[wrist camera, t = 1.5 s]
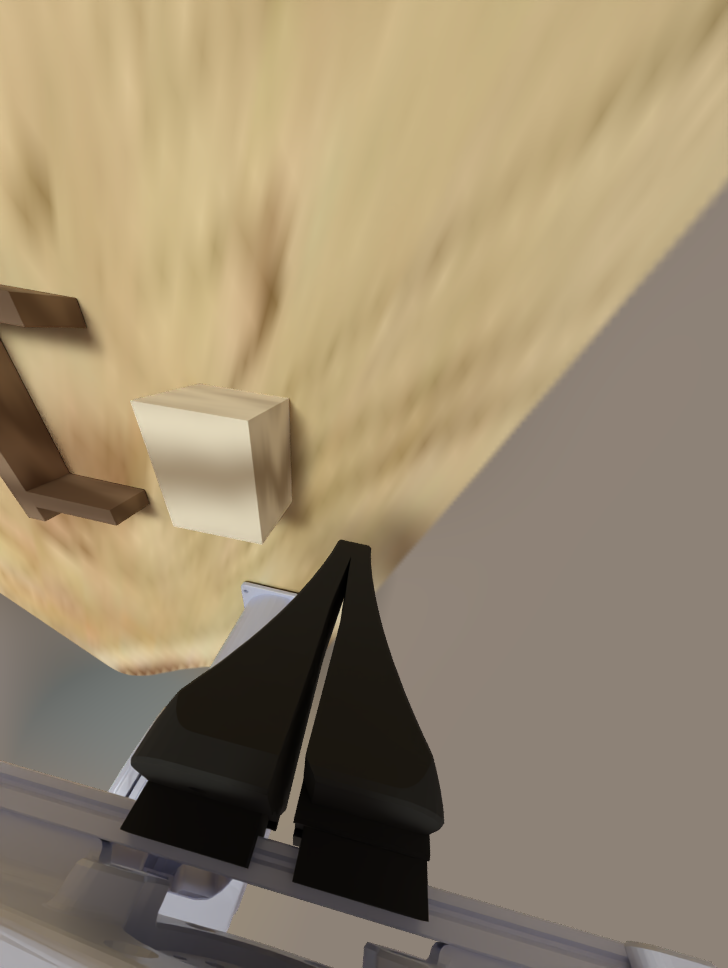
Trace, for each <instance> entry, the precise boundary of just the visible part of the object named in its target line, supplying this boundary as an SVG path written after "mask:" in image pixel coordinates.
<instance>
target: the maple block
mask: <svg viewBox="0 0 728 968" xmlns="http://www.w3.org/2000/svg"><path fill="white" fill-rule="evenodd" d="M130 402H131V405H132V408H133V410H134V413H135V416H136V419H137V422H138V425H139V428H140V431H141V434H142V436H143V439H144V442H145V445H146V448H147V451H148V454H149V457H150V460H151V463H152V465H153V468H154V471H155V474H156V477H157V480H158V483H159V486H160V489H161V491H162V494H163V497H164V500H165V503H166V506H167V509H168V512H169V515H170V518H171V520H172V523H173V526H175V527H179V528H184V529H189V530H194V531H199V532H204V533H209V534H213V535H218V536H223V537H228V538H233V539H238V540H242V541H247V542H252V543H257V544H263V543H264V541H265V540H266V539H267V537H268V536H269V534H270V533H271V531H272V530H273V529H274V527H275V526H276V524H277V523H278V521H279V520H280V518H281V517H282V516H283V514H284V513H285V511H286V510H287V508H288V507H289V505H290V504H291V503H292V479H291V446H290V413H289V398H285V397H279V396H273V395H267V394H261V393H255V392H249V391H243V390H237V389H230V388H224V387H218V386H212V385H206V384H200V383H199V384H195V385H191V386H187V387H183V388H179V389H175V390H171V391H167V392H163V393H159V394H154V395H150V396H146V397H142V398H138V399H134V400H130Z"/></svg>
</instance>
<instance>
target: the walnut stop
mask: <svg viewBox="0 0 728 968" xmlns="http://www.w3.org/2000/svg"><path fill="white" fill-rule="evenodd" d="M0 322H1V323H6V324H11V325H17V326H22V327H66V328H86V325H85V322H84V319H83V316H82V314H81V311H80V308H79V305H78V302H77V299H76V298H73V297H67V296H62V295H56V294H50V293H45V292H39V291H34V290H28V289H23V288H17V287H11V286H6V285H0ZM0 476H1V478H2V479H3V481H4V482H5V483H6V485H7V486H8V488H9V489H10V491H11V492H12V494H13V495H14V497H15V498H16V500H17V501H18V502H19V504H20V505H21V507H22V508H23V510H24V511H25V513H26V514H27V516H28V517H29V518H33V519H37V520H42V521H47V520H49V519H51V518H52V517H54V516H56V515H58V514H60V513H64V514H69V515H73V516H77V517H82V518H86V519H91V520H95V521H99V522H104V523H108V524H112V525H118V524H120V523H121V522H123V521H124V520H126V519H127V518H129V517H130V516H132V515H133V514H135V513H136V512H138V511H139V510H141V509H142V508H144V507H145V506H147V505H148V504H149V501H148V499H147V496H146V493H145V490H143V489H138V488H134V487H129V486H125V485H120V484H116V483H111V482H106V481H102V480H97V479H93V478H88V477H84V476H79V475H75V474H70V473H69V472H68V470H67V468H66V466H65V464H64V462H63V460H62V458H61V456H60V454H59V452H58V450H57V448H56V446H55V445H54V443H53V441H52V439H51V437H50V435H49V433H48V431H47V429H46V427H45V425H44V423H43V421H42V419H41V418H40V416H39V414H38V412H37V410H36V408H35V406H34V404H33V402H32V400H31V398H30V396H29V394H28V392H27V390H26V389H25V387H24V385H23V383H22V381H21V379H20V377H19V375H18V373H17V371H16V369H15V367H14V365H13V363H12V361H11V360H10V358H9V356H8V354H7V352H6V350H5V348H4V346H3V344H2V342H1V340H0Z"/></svg>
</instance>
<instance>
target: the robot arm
mask: <svg viewBox="0 0 728 968" xmlns="http://www.w3.org/2000/svg"><path fill="white" fill-rule="evenodd" d="M241 589H242V595H243V602H244V608H245V609H244V611H243V612H242V614H241V616H240V617H239V619H238V621H237V622H236V624H235V626H234V627H233V629H232V631H231V632H230V634H229V636H228V637H227V639H226V641H225V642H224V644H223V646H222V647H221V649H220V651H219V652H218V654H217V656H216V658H215V659H214V661H213V663H212V664H211V666H210V668H209V670H208V671H206V672H205V673H203V674H202V675H201V676H199V677H198V678H196V679H195V680H193V681H192V682H191V683H189V684H188V685H186V686H185V687H184V688H182V689H181V690H180V691H179V692H178V693H177V694H176V695H175V697H174V698H173V699H172V700H171V701H170V702H169V704H168V705H167V706H166V707H164V709H163V710H162V711H161V712H160V713H159V715H158V716H157V717H156V719H155V720H154V722H153V723H152V724H151V726H150V727H149V729H148V730H147V732H146V733H145V735H144V736H143V738H142V739H141V741H140V742H139V744H138V745H137V747H136V748H135V749H134V751H133V753H132V754H131V756H130V757H129V759H128V760H127V762H126V763H125V765H124V767H123V768H122V770H121V771H120V773H119V775H118V776H117V778H116V779H115V781H114V783H113V784H112V786H111V788H110V789H109V791H108V792H107V791H103V790H100V789H96V788H93V787H89V786H86V785H83V784H79V783H75V782H72V781H69V780H65V779H62V778H59V777H55V776H52V775H48V774H44V773H42V772H38V771H35V770H31V769H28V768H24V767H20V766H17V765H14V764H11V763H7V762H3V761H0V968H332V967H329V966H327V965H324V964H321V963H318V962H316V961H312V960H310V959H307V958H304V957H301V956H298V955H296V954H293V953H290V952H287V951H284V950H281V949H278V948H275V947H272V946H269V945H266V944H262V943H259V942H256V941H253V940H250V939H246V938H243V937H239V936H236V935H233V934H229V933H226V932H227V930H228V929H229V926H230V923H231V920H232V918H233V915H234V914H235V913H236V912H237V910H238V908H239V905H240V903H241V900H242V897H243V894H244V892H245V889H246V886H247V884H251V885H254V886H258V887H261V888H264V889H267V890H271V891H274V892H277V893H281V894H284V895H287V896H291V897H294V898H297V899H300V900H304V901H307V902H310V903H314V904H317V905H320V906H323V907H327V908H330V909H333V910H337V911H340V912H343V913H346V914H350V915H353V916H356V917H360V918H363V919H366V920H370V921H373V922H376V923H379V924H383V925H386V926H390V927H393V928H396V929H399V930H403V931H406V932H409V933H412V934H416V935H419V936H422V937H425V938H429V939H432V940H435V941H439V942H436V943H435V944H434V945H433V946H432V949H431V952H430V955H429V958H428V959H427V960H424V959H422V958H419V957H417V956H414V955H411V954H408V953H405V952H401V951H398V950H395V949H391V948H388V947H384V946H380V945H377V944H373V943H369V942H367V943H366V945H365V946H364V956H363V968H717V967H716V966H715V965H714V964H713V963H712V962H710V961H706V960H703V959H700V958H697V957H693V956H690V955H686V954H683V953H679V952H676V951H673V950H669V949H666V948H662V947H658V946H654V945H650V944H646V943H639V942H633V941H626V943H623V942H620V941H616V940H613V939H609V938H606V937H603V936H599V935H596V934H592V933H589V932H586V931H582V930H578V929H575V928H572V927H568V926H565V925H562V924H558V923H555V922H551V921H548V920H544V919H541V918H537V917H534V916H531V915H527V914H524V913H521V912H517V911H514V910H510V909H507V908H503V907H500V906H496V905H493V904H490V903H486V902H483V901H479V900H476V899H473V898H469V897H466V896H462V895H459V894H456V893H452V892H449V891H445V890H442V889H438V888H435V887H432V886H428V881H427V880H428V879H427V861H429V860H430V838H429V834H431V833H434V832H436V831H438V830H439V829H440V828H441V827H442V826H443V824H444V811H443V804H442V797H441V790H440V785H439V780H438V775H437V771H436V767H435V763H434V759H433V755H432V753H431V751H430V748H429V746H428V744H427V742H426V740H425V738H424V736H423V733H422V731H421V729H420V727H419V724H418V722H417V720H416V718H415V715H414V713H413V711H412V708H411V706H410V703H409V701H408V699H407V696H406V694H405V691H404V689H403V686H402V683H401V681H400V678H399V676H398V673H397V670H396V667H395V665H394V662H393V659H392V656H391V653H390V650H389V647H388V644H387V640H386V637H385V634H384V630H383V627H382V623H381V619H380V615H379V611H378V606H377V602H376V597H375V591H374V585H373V579H372V570H371V548H370V546H367V545H363V544H358V543H354V542H349V541H345V540H339V541H338V543H337V544H336V546H335V548H334V549H333V551H332V553H331V554H330V555H329V557H328V558H327V560H326V561H325V562H324V564H323V565H322V566H321V568H320V569H319V570H318V571H317V573H316V574H315V575H314V576H313V578H312V579H311V580H310V581H309V582H308V583H307V584H306V585H305V587H304V588H303V589H302V590H301V591H300V592H299V593H298V594H296V593H292V592H287V591H283V590H279V589H275V588H270V587H266V586H262V585H257V584H253V583H249V582H244V583H243V584H242V585H241ZM343 599H344V601H343ZM342 602H343V607H342V614H341V621H340V625H339V629H338V633H337V637H336V641H335V645H334V649H333V653H332V657H331V660H330V664H329V668H328V672H327V676H326V680H325V684H324V688H323V691H322V695H321V699H320V703H319V707H318V710H317V714H316V718H315V722H314V725H313V729H312V733H311V737H310V740H309V744H308V748H307V752H306V757H305V768H304V779H303V784H302V788H301V792H300V796H299V800H298V804H297V809H296V813H295V817H294V823H295V830H294V834H293V845H295V846H299V848H298V847H295V846H291V845H288V844H284V843H281V842H277V841H274V840H271V839H268V837H269V834H270V832H271V830H273V831H276V829H277V825H278V821H279V818H280V815H281V814H282V813H283V812H284V811H285V810H286V808H287V803H288V799H289V795H290V791H291V787H292V783H293V779H294V774H295V771H296V766H297V762H298V758H299V754H300V750H301V746H302V742H303V738H304V734H305V730H306V726H307V722H308V718H309V714H310V709H311V706H312V702H313V698H314V694H315V690H316V686H317V682H318V678H319V674H320V670H321V666H322V662H323V659H324V656H325V652H326V649H327V646H328V643H329V640H330V638H331V635H332V632H333V629H334V626H335V623H336V620H337V617H338V614H339V611H340V608H341V605H342Z"/></svg>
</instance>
